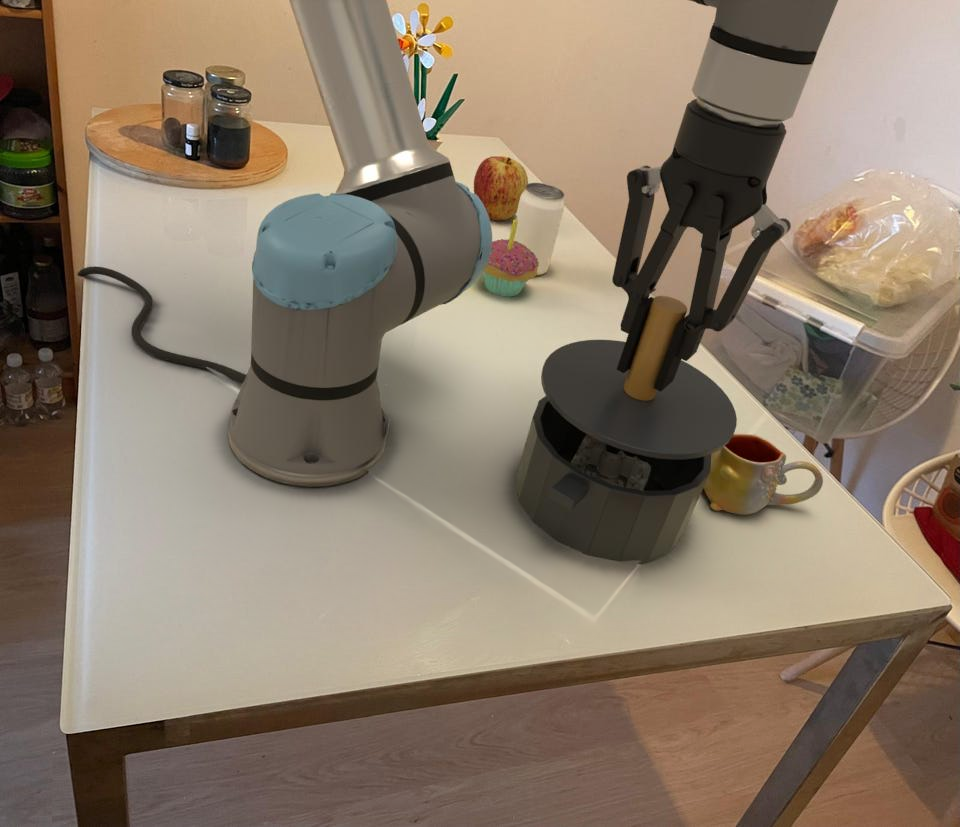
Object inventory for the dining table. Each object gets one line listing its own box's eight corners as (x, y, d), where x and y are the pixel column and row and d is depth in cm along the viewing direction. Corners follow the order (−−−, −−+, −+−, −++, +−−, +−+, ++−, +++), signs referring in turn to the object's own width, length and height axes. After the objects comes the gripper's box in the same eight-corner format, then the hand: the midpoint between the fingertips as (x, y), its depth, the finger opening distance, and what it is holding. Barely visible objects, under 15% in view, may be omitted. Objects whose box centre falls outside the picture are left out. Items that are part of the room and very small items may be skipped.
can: (535, 281, 123) (554, 203, 116) (497, 264, 125) (514, 187, 118) (555, 268, 127) (574, 193, 121) (518, 253, 130) (536, 178, 123)
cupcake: (525, 311, 114) (546, 229, 108) (465, 295, 115) (482, 213, 108) (534, 285, 121) (554, 207, 115) (477, 270, 122) (494, 191, 115)
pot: (465, 512, 79) (482, 441, 74) (579, 419, 95) (599, 356, 91) (623, 611, 72) (653, 540, 68) (716, 493, 89) (746, 429, 84)
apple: (468, 200, 144) (479, 142, 138) (520, 210, 144) (533, 153, 139) (467, 221, 136) (479, 161, 130) (522, 231, 137) (536, 172, 131)
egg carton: (578, 457, 89) (588, 426, 86) (646, 484, 87) (658, 453, 85) (546, 514, 80) (556, 481, 78) (621, 545, 79) (633, 512, 76)
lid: (501, 394, 74) (526, 291, 68) (596, 330, 87) (624, 239, 81) (686, 495, 67) (731, 389, 61) (759, 409, 80) (801, 315, 74)
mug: (701, 511, 86) (724, 460, 82) (694, 470, 92) (715, 421, 88) (815, 536, 86) (843, 486, 82) (801, 493, 92) (827, 445, 88)
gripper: (857, 138, 62) (742, 399, 75) (662, 73, 68) (587, 325, 81) (831, 154, 56) (711, 433, 69) (621, 81, 62) (548, 350, 76)
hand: (645, 374), depth 75 cm, fingers closed on lid, 3 cm apart
